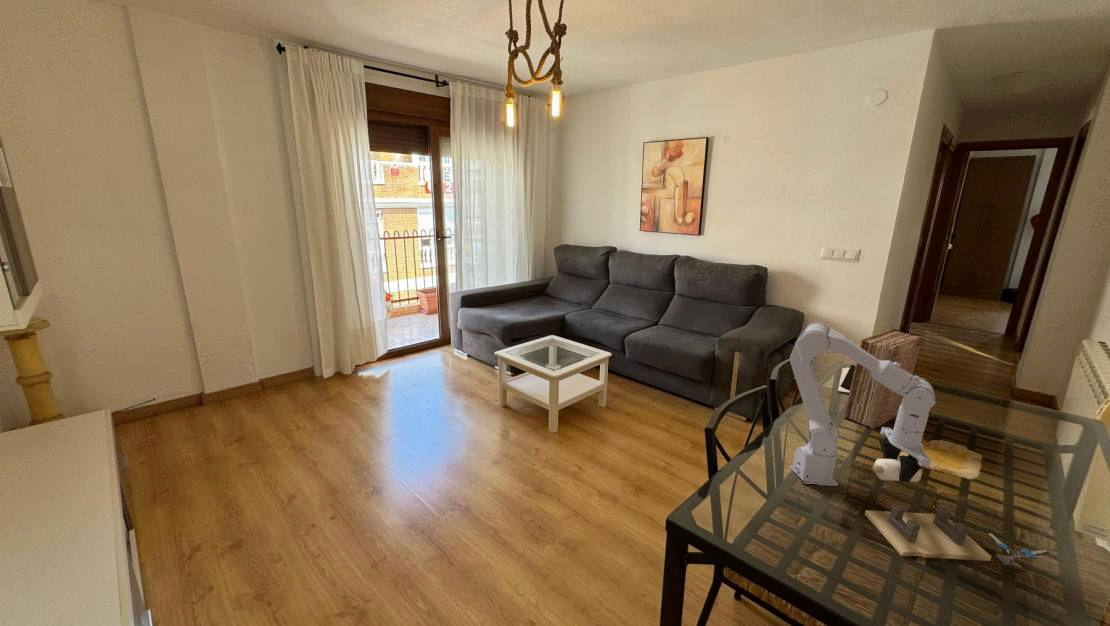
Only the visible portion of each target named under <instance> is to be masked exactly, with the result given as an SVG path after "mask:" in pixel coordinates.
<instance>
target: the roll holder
mask: <svg viewBox="0 0 1110 626" xmlns="http://www.w3.org/2000/svg"><path fill="white" fill-rule="evenodd" d="M951 514H952V512H950V511H949V510H948V509H947V508H946V507H944V506H943V507H940V506H938V507H937V508H936V511H935V513H923V512H922V513H920V512H905V509H904V508H903V507H902V506H901V505H900V504H892V505H891V509H890V511H884V510H883V511H882V510H868V509H867V510H865V512H864V516H866V517H867V519H868V520H869V521H870V522H871V523H872V524H873V525H874V527H876V529H877V530H878V531H879V532H880V533H881V535H883V537H884V538H885V539H886V540H887V542H888V543H889V544H890V545H892V547H893V548H894V549H895V550H896V552H897V553H899V555H900V556H901V557H911V556H914V557H915V556H922V557H921V558H930V559H931V558H932V559H933V558H934V559H948V560H949V559H951V560H967V561H969V560H970V561H983V562H990V561H991V559H992V556H991V555H990V553H988V552H987V551H986V550H985V549H984V548H983V547H982V546H980V545H979V544H978V543H977V542H976V541H975V540H974V539H973V538H971V537H970V536H969V535H968V533H969V530H970V528H969V527H968V526H967V525H966V524H964V523H963V522H953V520H951V519H950V517H951ZM915 558H916V557H915Z"/></svg>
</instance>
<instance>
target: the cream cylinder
mask: <svg viewBox="0 0 1110 626" xmlns="http://www.w3.org/2000/svg"><path fill="white" fill-rule="evenodd" d="M900 468H901V465H900V459H883V458H877V459H876V460H875V462H874V464H873V465H872V471H873V473H874V474H876V476H877V478H878V479H880V480H881V481H895V482H898V481H899V482H901V481H900V480H899V474H900ZM922 475H923V468H922V469H920V470H919V471H918V472H917V473H916V474H915V475H914V476H913V477H912V479H911V480H910V481H909V482H913V483H914V482H915V483H917V482H919V481H920V480H921V479H922Z"/></svg>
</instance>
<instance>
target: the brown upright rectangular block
mask: <svg viewBox="0 0 1110 626" xmlns="http://www.w3.org/2000/svg"><path fill="white" fill-rule="evenodd" d="M923 338H924V335H921V334H916V333H912V332H907V331H903V330H900V329H896V328H895V329H894V328H892V329H888V330H886V331H883V332H880V333H877V334H874V335H871V336H869V337H865V338H862V339H861V342H860V345H859V347H861V348H862V349H863V350H865V351H866V352H868V353H869V354H871V355H872V356H874V357H875V358H877V359H878V360H880V361H884V360H889V361H891V362H892V363H894V362H897V363H899V364H900V368H902V369H904V370H905V371H907V372H908V373H910V374H912V375H913V376H914V373H915V372H914V371H915V368H916V364H917V361H918V358H919V354H920V349H921V345H922V342H923ZM855 363H856V364H855V367H854V372H853V376H852V380H851V384H850V389H849V392H848V393H849V394H848V397H847V401H846V406H845V410H844V415H843V419H844V420H846V419H849V420H852V421H853V422H856V423H859V424H862V425H863V426H865V427H866V426H867V427H869V428H870V429H871V430H872V431H873V430H875V429H877V428H878V427H880V426H882V425H883V424H886V423H887V422H889V421H890V420H892V419H893V418H896V417H897V414H898V411H899V407H900V405H901V404H902V400H903V397H904V396H901V395H898V394H896V393H895V392H893V391H892V390H890V389H889V388H887V387H886V386H884V385H883V384H881V383H879V382H878V381H876V380H875V379H873V378H872V374H871V371H870V370H868V369H867V368H865V367H863V366H862V365H860V364H858V363H857V362H855Z"/></svg>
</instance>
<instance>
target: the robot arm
mask: <svg viewBox="0 0 1110 626" xmlns="http://www.w3.org/2000/svg"><path fill="white" fill-rule="evenodd" d="M824 351H827V352H826V354H842V355H843V356H845V357H847V358H848V359H849V360H852V361H853V362H855V363H856V362H857V363H858V364H860V365H862V366H863V367H865V368H867V369H868V370H870V371H871V374H872V378H873V379H875V380H876V381H878V382H879V383H881V384H883V385H884V386H886V387H887V388H889V389H890V390H892V391H893V392H895V393H896V394H898V395H901V396H904V397H903V400H902V404H901V405H900V407H899V411H898V414H897V416H896V417H895V422H894V426H893V429H892V428H890V427H884V426H882V427H881V429H880V432H879V434H880V435H882V436H884V437H885V438H881V439H878V443H879V444H880V447H881V451H882V459H898V458H899V460H900V465H901V468H900V474H899V480H900V481H899V482H901V483H903V482H904V483H910V482H911V481H910V480H911V479H912V477H913V476H914V475H915V474H916V473H917V472H918V471H919V470H920V469H922V470H923V468H924V467H930V465H931V463H932V459H931V458H930V457H928V455H927V454H926V452H925V451H924V449H923V448H924V444H923V443H922V439H923V436H924V432H925V429H926V426H927V422H928V419H929V415H930V414H929V412H930V411H931V408H933V406H935V404H936V403H937V400H936V394H935V392H934V387H933V386H932V384H930V383H929V382H928V381H927V379H925V378H923V377H920V376H918V375H917V374H915V375H914V374H913V375H912V374H910V373H908V372H907V371H905V370H904V369H902V368H900V364H899V363H897V362H894V363H892V362H891V361H889V360H884V361H880V360H878V359H877V358H875V357H874V356H872V355H871V354H869V353H868V352H866V351H865V350H863V349H862V348H861V347H860V345H857V344H856V343H855V342H853V341H852V340H850V339H849V338H847V337H846V336H845V335H843V334H842V333H841V332H839V331H838V330H836V329H834V328H829V326H828V325H827V324H825V323H823V322H818V321H817V322H813V323H812V322H811V323H809V324H808V325H807V326H806V327H805V328H804V329H803V330H802V331H801V332H800V334H799V336H798V338H797V340H796V341H795V343H794V346H793V348H792V351H791V354H790V357H789V362H790V366H791V369H792V371H793V375H794V378H795V381H796V385H797V388H798V391H799V394H800V397H801V400H802V404H803V406H804V409H805V410H804V411H805V413H806V416H807V418H808V427H809V433H810V440H809V441H808V442H807V444H806V445H803V446H799V447H798V446H797V447H796V449H795V451H794V456H793V461H792V465H790V469H791V470H792V472H793V473H794V472H795V473H796V474H797V475H798V476H799V477H800V478H801V480H803V481H807V483H808V482H809V483H808V484H818V485H817V486H827V487H828V486H829V487H838V486H839V483H838V482H837V481H836V480H835V479H834V478H833V474H834V471H835V466H836V461H837V457H838V453H839V451H838V440H839V437H840V429H839V428H838V426H837V425H836V424H834V422H833V420H832V417H831V416H830V414H829V413H828V411H827V407H826V404H825V401H824V398H823V395H822V392H821V389H820V386H819V382H818V379H817V375H816V373H815V370H814V366H813V363H812V361H813V360H814V358H815V357H816V356H817V355H820V354H821V353H824ZM902 452H905V453H906V454H908V455H900V454H901V453H902ZM795 473H794V474H795ZM796 474H795V475H796ZM797 475H796V476H797ZM798 476H797V477H798ZM801 480H800V481H801Z"/></svg>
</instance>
